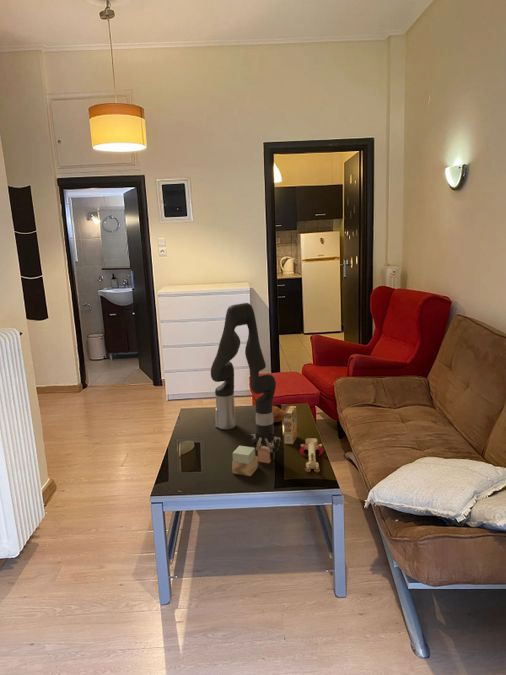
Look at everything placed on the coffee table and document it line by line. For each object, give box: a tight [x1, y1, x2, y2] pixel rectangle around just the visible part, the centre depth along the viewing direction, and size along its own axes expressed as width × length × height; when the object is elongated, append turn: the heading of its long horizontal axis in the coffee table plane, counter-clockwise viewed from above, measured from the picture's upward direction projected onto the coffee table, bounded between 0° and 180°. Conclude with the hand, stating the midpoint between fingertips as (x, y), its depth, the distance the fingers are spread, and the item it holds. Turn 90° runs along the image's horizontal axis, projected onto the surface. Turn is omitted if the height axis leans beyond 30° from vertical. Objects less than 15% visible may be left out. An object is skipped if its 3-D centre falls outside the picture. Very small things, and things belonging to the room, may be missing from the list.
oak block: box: [231, 455, 259, 477], centre depth 202 cm, size 8×8×5 cm
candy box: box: [283, 405, 298, 445], centre depth 227 cm, size 9×4×15 cm, turn 162°
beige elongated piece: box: [299, 437, 324, 473], centre depth 210 cm, size 10×9×25 cm
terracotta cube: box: [258, 445, 272, 464], centre depth 210 cm, size 5×5×5 cm
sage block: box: [232, 445, 256, 464], centre depth 201 cm, size 7×7×4 cm
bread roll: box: [272, 405, 285, 423], centre depth 255 cm, size 14×16×8 cm
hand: (265, 458), depth 211 cm, fingers closed on terracotta cube, 5 cm apart
